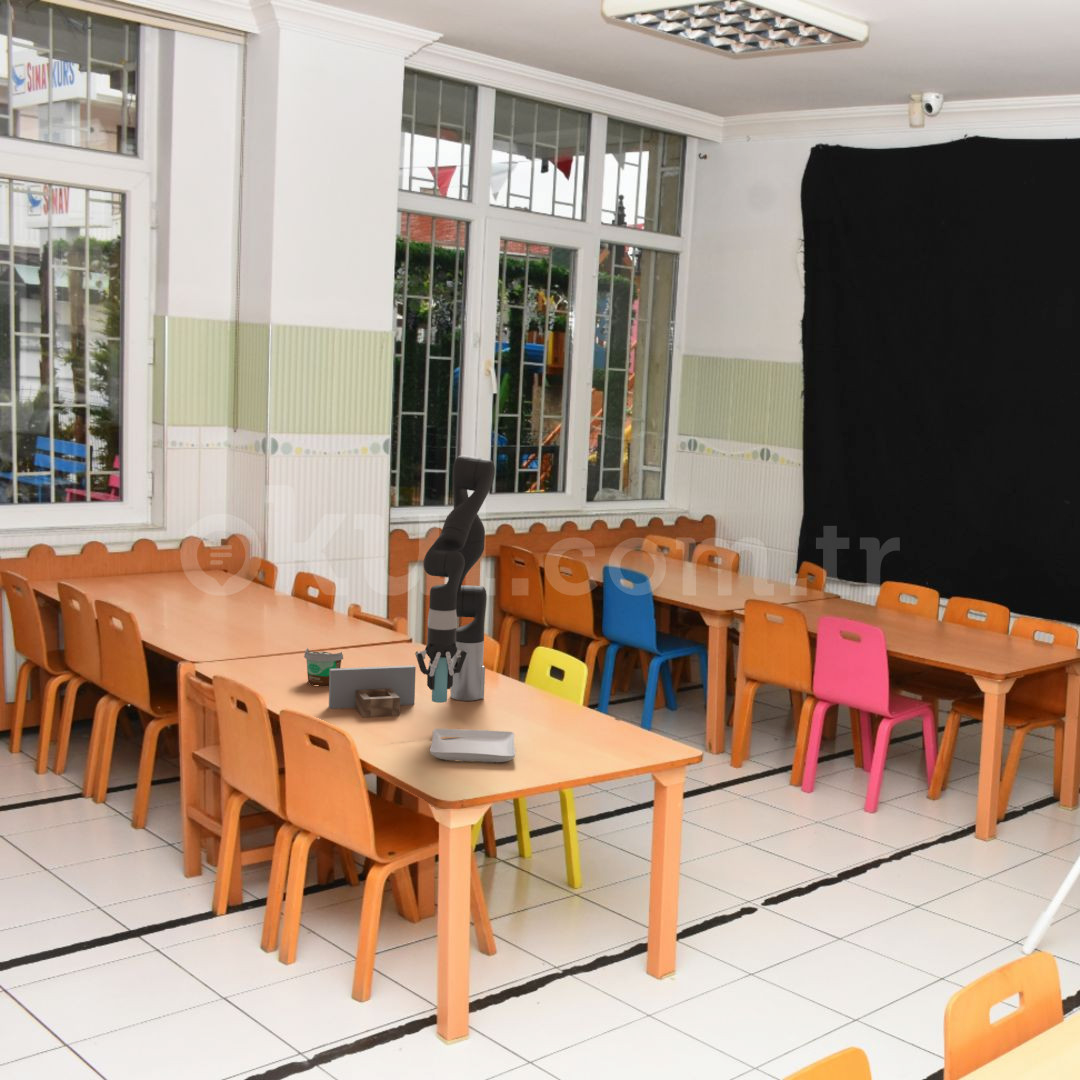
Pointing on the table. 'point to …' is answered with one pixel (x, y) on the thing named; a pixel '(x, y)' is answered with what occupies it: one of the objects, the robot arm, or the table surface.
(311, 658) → the food container
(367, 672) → the backstop wall
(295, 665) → the table surface
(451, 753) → the salad plate
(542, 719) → the table surface
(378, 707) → the block
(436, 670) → the teal rounded bar piece
